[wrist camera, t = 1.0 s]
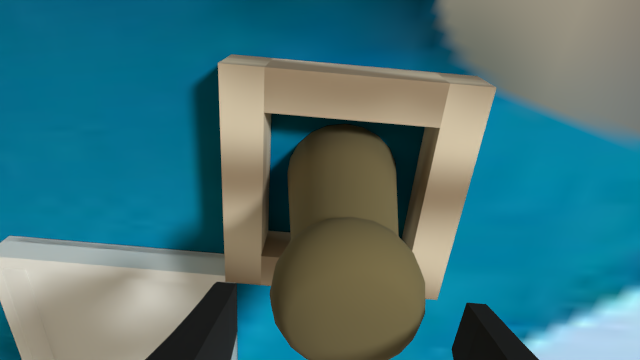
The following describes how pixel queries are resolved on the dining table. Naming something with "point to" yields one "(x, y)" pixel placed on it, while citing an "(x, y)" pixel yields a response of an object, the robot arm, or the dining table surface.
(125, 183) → the dining table surface
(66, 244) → the tray
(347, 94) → the frame
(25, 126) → the dining table surface
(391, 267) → the olive tall rounded piece
